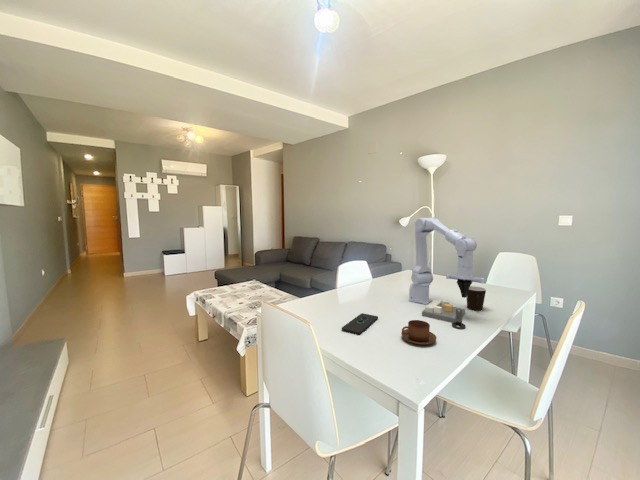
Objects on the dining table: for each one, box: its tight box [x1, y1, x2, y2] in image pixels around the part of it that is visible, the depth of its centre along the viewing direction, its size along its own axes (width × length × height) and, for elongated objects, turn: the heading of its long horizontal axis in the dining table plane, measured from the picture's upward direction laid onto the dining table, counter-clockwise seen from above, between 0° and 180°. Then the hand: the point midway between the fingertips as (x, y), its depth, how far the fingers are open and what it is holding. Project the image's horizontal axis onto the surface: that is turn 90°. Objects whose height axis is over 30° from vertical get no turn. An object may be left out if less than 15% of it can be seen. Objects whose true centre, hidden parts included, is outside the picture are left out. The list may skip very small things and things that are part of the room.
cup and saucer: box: [401, 319, 437, 346], centre depth 101 cm, size 12×12×6 cm
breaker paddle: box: [444, 304, 454, 312], centre depth 125 cm, size 3×2×3 cm, turn 50°
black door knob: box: [451, 309, 466, 330], centre depth 112 cm, size 5×5×7 cm
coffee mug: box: [465, 285, 487, 312], centre depth 132 cm, size 12×9×10 cm
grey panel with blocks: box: [421, 299, 466, 324], centre depth 126 cm, size 14×16×5 cm
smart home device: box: [341, 312, 379, 336], centre depth 115 cm, size 8×2×20 cm
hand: (464, 297), depth 121 cm, fingers closed
